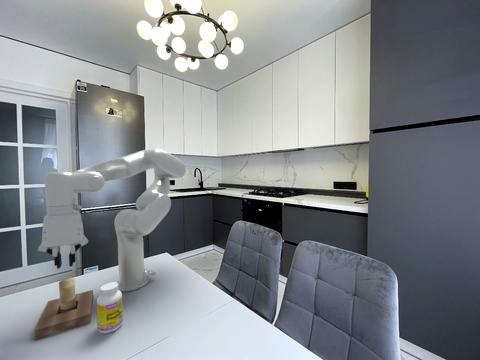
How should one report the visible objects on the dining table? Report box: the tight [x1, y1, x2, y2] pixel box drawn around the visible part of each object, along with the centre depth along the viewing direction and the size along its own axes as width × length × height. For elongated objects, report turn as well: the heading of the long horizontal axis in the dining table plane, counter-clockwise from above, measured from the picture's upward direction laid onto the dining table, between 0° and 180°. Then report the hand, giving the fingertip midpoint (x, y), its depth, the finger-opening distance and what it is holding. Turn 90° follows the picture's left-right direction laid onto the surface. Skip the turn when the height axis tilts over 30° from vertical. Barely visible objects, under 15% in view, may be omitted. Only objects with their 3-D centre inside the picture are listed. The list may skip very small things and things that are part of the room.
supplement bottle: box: [96, 281, 124, 334], centre depth 66 cm, size 7×7×13 cm
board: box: [33, 289, 95, 341], centre depth 71 cm, size 13×16×3 cm
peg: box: [58, 277, 76, 313], centre depth 71 cm, size 4×4×12 cm
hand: (65, 265), depth 71 cm, fingers open, 2 cm apart
